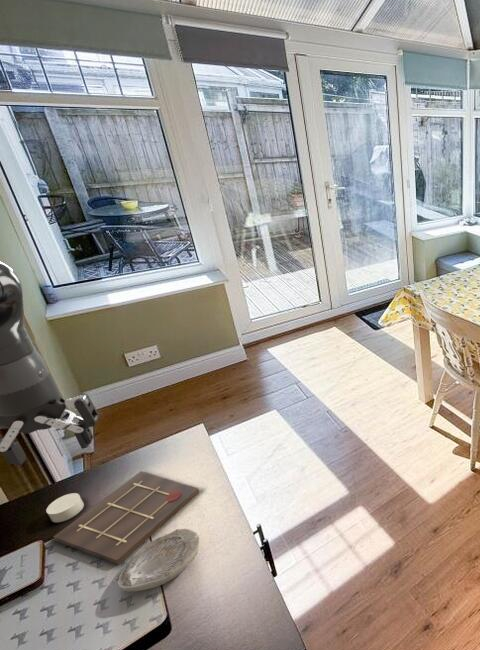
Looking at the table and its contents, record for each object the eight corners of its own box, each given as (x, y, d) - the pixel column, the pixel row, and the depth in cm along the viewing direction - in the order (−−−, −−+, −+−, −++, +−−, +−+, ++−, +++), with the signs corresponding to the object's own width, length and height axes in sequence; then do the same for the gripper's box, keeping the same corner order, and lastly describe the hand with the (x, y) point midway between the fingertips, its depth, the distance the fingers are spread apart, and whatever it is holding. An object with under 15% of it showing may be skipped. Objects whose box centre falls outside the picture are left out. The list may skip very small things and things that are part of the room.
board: (55, 541, 78) (52, 536, 78) (142, 474, 93) (141, 470, 92) (119, 564, 75) (116, 559, 74) (199, 492, 89) (198, 487, 89)
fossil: (129, 561, 76) (123, 551, 75) (204, 529, 82) (200, 519, 81) (117, 613, 68) (110, 602, 67) (201, 573, 73) (196, 562, 72)
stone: (44, 519, 82) (39, 510, 81) (73, 498, 87) (68, 490, 86) (62, 525, 81) (57, 516, 80) (90, 504, 86) (85, 496, 85)
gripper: (81, 357, 74) (112, 427, 80) (-37, 378, 67) (7, 453, 74) (66, 380, 68) (101, 453, 74) (-65, 406, 61) (-14, 484, 68)
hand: (54, 453), depth 74 cm, fingers open, 8 cm apart
